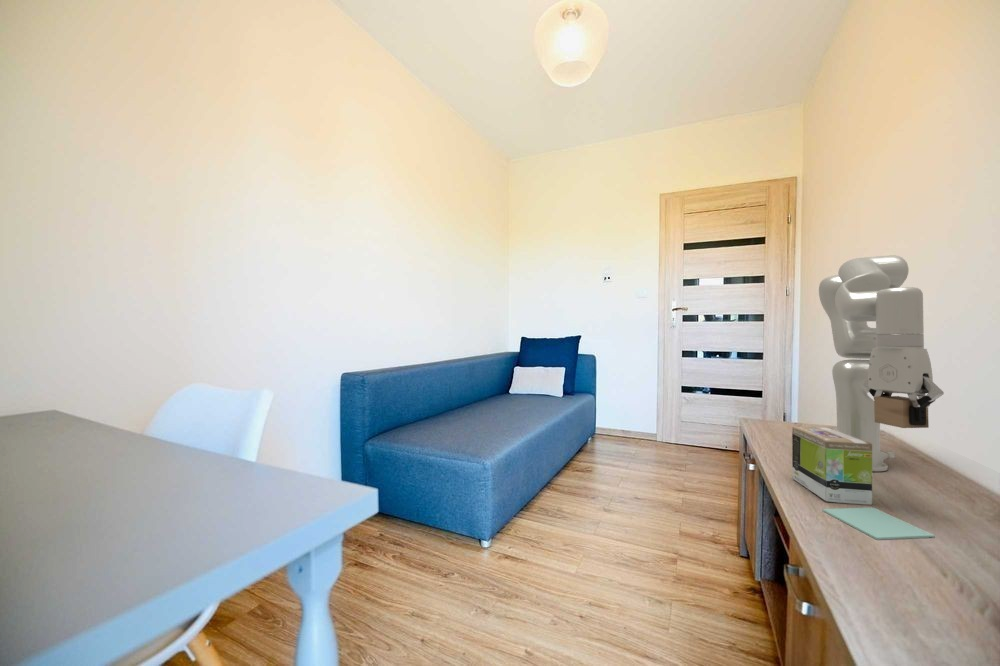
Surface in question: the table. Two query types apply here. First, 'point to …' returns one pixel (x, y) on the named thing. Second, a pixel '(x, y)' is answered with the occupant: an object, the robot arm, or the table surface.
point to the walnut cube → (895, 411)
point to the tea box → (832, 464)
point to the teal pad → (877, 523)
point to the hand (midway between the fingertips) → (900, 420)
